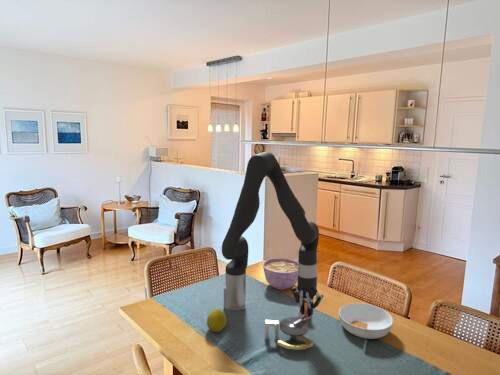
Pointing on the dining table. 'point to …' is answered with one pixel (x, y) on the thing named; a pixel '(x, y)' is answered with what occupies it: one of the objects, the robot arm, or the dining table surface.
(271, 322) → the grey arch-shaped block
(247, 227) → the robot arm
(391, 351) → the dining table surface
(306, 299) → the flask
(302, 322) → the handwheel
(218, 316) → the lemon
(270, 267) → the bowl of food
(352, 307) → the serving bowl
